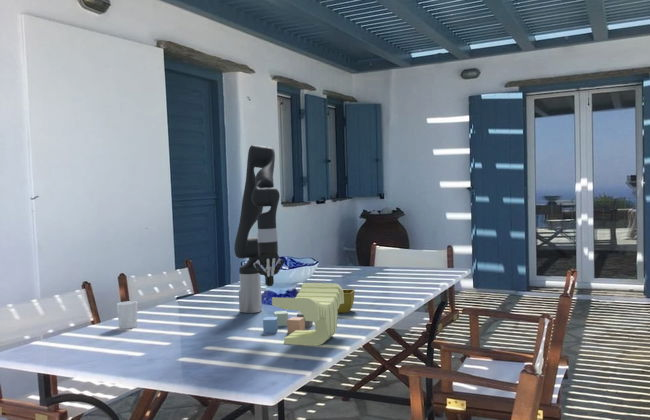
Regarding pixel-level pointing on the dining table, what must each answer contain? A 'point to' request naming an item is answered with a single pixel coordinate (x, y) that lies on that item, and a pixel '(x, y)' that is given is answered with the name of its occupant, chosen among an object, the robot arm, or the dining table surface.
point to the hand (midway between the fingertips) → (269, 285)
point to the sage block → (281, 317)
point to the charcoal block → (307, 323)
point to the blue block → (270, 325)
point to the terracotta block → (295, 324)
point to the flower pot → (347, 301)
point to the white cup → (127, 314)
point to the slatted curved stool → (314, 311)
